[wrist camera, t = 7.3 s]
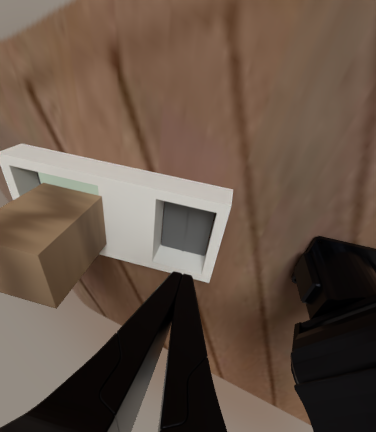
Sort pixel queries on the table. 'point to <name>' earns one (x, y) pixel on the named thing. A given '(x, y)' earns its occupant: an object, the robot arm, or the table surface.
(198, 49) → the table surface
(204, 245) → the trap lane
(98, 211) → the walnut block
